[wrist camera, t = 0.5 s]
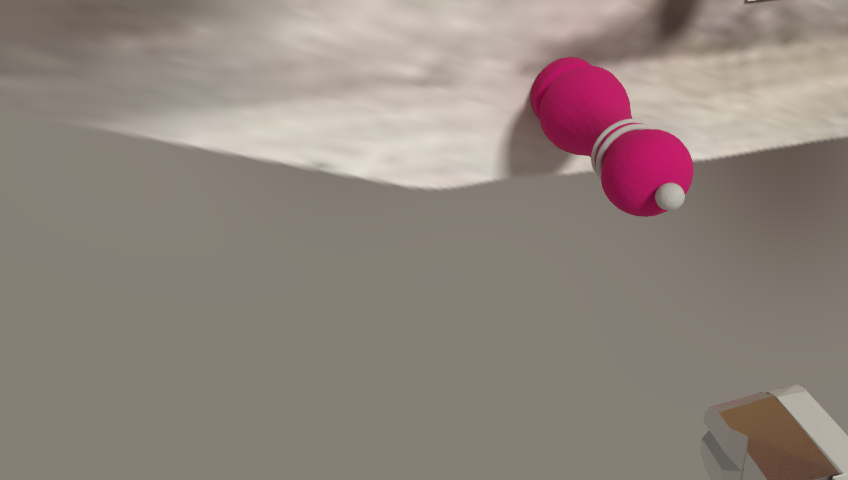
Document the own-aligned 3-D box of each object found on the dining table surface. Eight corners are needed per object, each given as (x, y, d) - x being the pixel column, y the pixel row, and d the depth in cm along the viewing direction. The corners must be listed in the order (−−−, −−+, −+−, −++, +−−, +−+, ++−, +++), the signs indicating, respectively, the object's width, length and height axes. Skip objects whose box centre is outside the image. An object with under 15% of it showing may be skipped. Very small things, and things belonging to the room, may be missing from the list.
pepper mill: (578, 138, 59) (688, 261, 43) (511, 115, 57) (601, 236, 40) (617, 66, 56) (753, 169, 39) (548, 39, 53) (663, 136, 37)
